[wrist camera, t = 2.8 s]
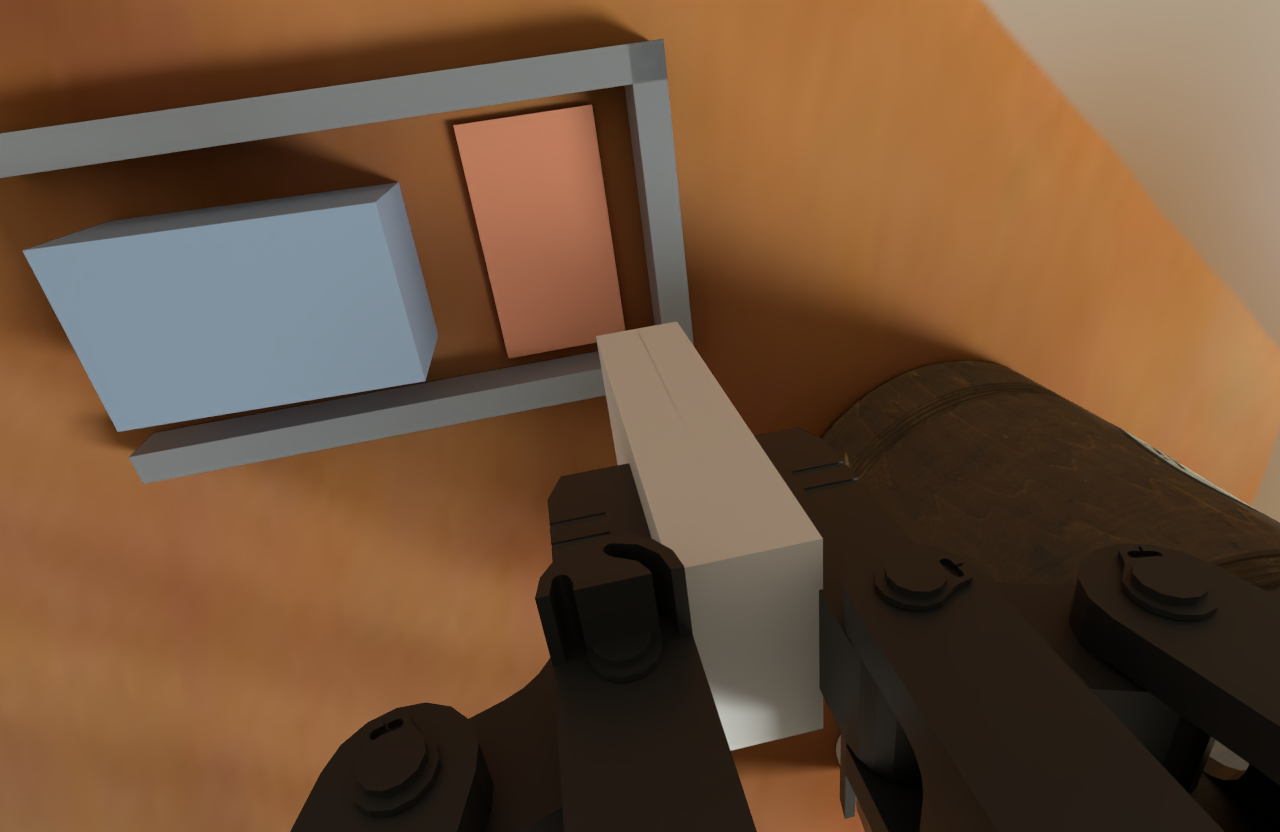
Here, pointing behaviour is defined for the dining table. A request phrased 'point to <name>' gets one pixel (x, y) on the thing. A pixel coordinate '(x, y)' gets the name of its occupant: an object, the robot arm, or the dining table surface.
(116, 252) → the slate block
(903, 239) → the dining table surface
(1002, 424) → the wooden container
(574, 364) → the grey flat frame
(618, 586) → the robot arm
